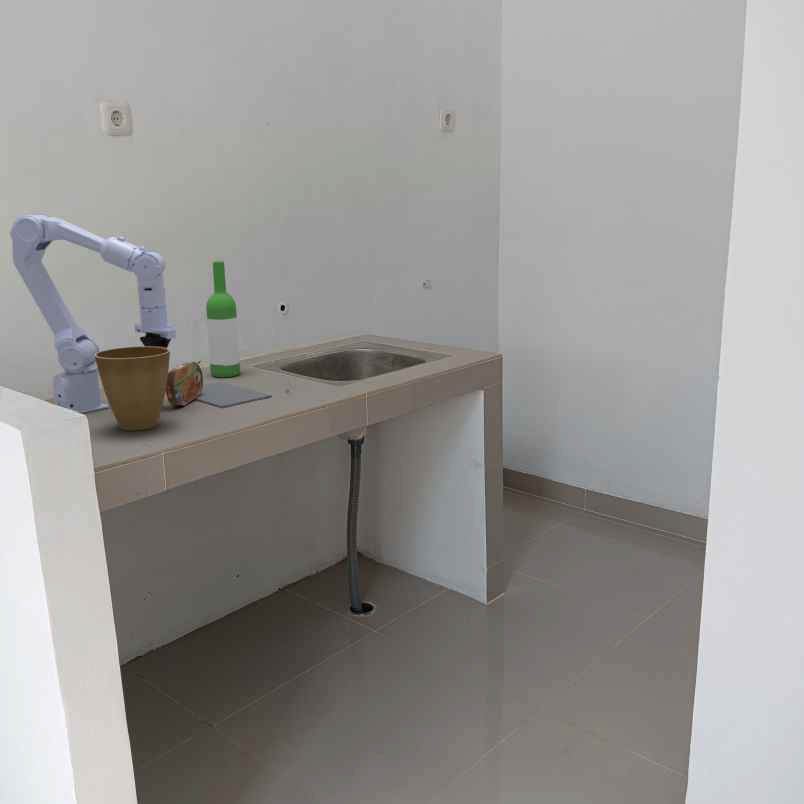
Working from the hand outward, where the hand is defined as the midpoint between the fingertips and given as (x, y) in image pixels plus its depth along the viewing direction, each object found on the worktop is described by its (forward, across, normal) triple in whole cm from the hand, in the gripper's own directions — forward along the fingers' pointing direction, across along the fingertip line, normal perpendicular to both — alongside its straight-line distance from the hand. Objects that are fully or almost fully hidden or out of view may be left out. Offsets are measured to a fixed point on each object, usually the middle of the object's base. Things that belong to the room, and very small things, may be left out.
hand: (158, 366), depth 195 cm
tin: (+9, 0, -6) cm, 11 cm away
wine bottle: (+10, +18, -30) cm, 36 cm away
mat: (+9, 0, -16) cm, 19 cm away
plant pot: (+10, -11, +12) cm, 19 cm away
